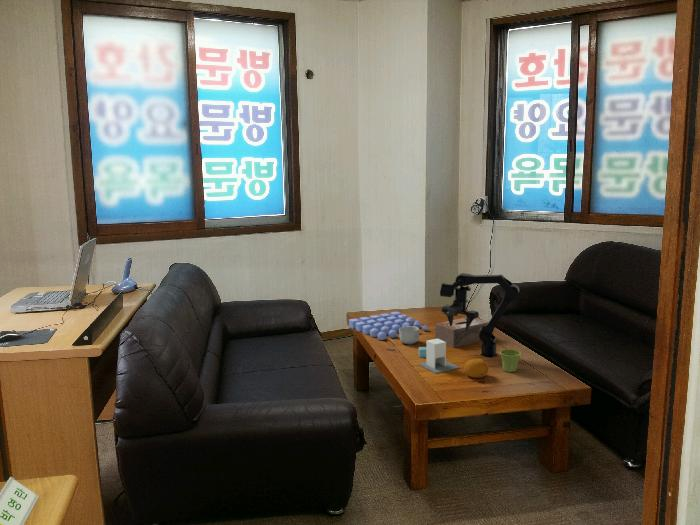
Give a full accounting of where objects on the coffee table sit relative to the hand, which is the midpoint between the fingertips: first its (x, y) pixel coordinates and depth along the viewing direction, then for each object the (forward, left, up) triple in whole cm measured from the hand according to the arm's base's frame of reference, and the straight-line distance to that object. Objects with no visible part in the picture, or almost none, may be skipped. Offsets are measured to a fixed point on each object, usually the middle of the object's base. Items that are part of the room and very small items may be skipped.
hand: (458, 328), depth 299 cm
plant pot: (-32, +7, -13) cm, 35 cm away
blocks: (+54, -10, -14) cm, 56 cm away
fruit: (-24, +24, -13) cm, 37 cm away
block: (+11, +16, -13) cm, 23 cm away
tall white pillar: (-3, +25, -12) cm, 28 cm away
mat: (-4, +24, -13) cm, 28 cm away
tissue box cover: (+10, -19, -13) cm, 25 cm away
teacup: (+30, +2, -13) cm, 33 cm away
